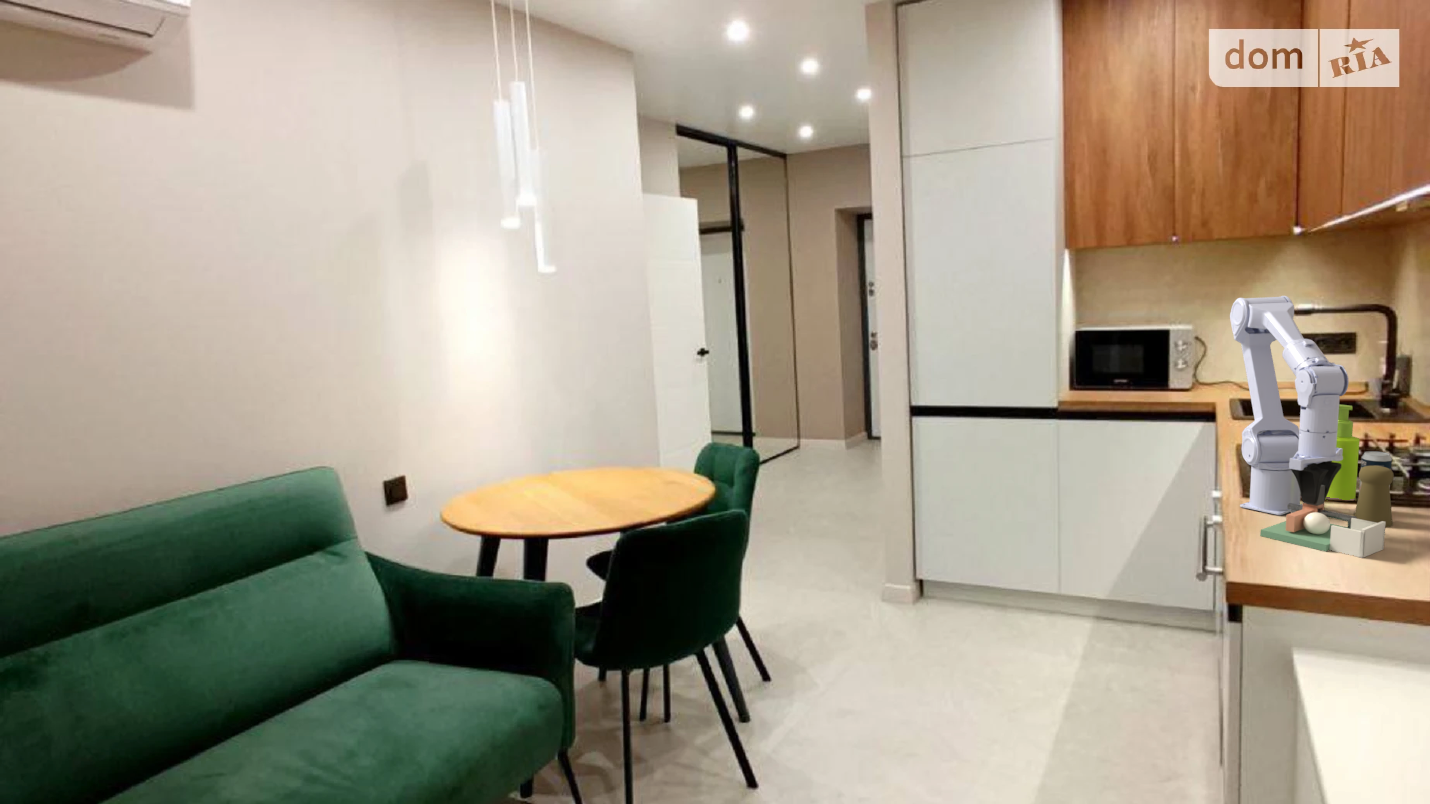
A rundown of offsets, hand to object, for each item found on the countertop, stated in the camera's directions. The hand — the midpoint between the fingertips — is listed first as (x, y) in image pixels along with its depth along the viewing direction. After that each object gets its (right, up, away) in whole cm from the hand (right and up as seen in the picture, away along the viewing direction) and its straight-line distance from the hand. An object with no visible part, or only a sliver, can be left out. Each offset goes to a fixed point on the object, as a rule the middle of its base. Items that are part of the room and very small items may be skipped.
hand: (1313, 501), depth 156 cm
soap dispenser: (+19, -2, +20) cm, 28 cm away
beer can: (+19, -4, +10) cm, 22 cm away
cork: (+14, -5, +4) cm, 16 cm away
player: (-3, -5, -1) cm, 5 cm away
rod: (+1, -5, 0) cm, 5 cm away
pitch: (-2, -6, -2) cm, 7 cm away
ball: (-2, -4, -4) cm, 6 cm away
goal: (+1, -7, -9) cm, 12 cm away
